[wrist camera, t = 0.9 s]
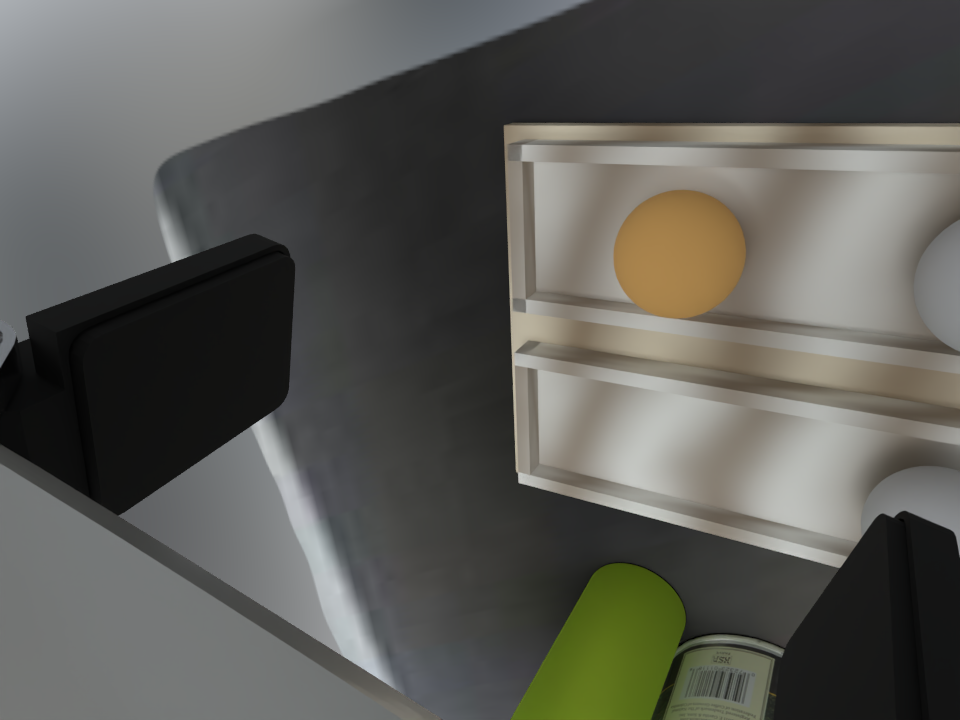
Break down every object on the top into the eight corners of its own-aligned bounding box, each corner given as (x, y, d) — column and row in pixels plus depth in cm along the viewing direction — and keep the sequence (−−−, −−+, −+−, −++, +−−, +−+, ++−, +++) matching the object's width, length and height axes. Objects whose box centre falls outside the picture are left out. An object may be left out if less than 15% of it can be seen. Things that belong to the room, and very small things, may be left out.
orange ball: (762, 181, 27) (740, 209, 23) (748, 302, 29) (725, 346, 25) (637, 176, 29) (596, 201, 25) (632, 288, 31) (594, 327, 27)
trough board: (1203, 123, 21) (1237, 134, 19) (1030, 589, 29) (1041, 634, 27) (513, 123, 32) (486, 129, 30) (523, 462, 40) (502, 487, 38)
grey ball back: (1023, 458, 26) (1046, 536, 22) (990, 560, 28) (1005, 648, 24) (874, 431, 28) (871, 497, 24) (853, 528, 30) (847, 603, 26)
